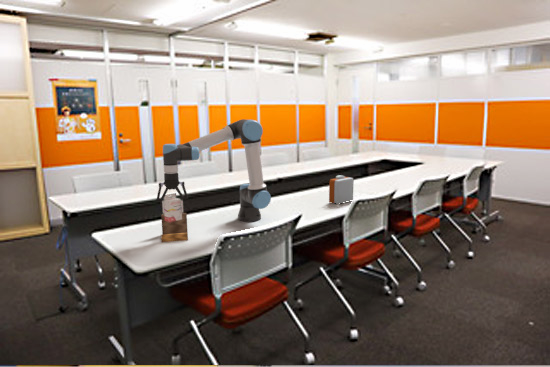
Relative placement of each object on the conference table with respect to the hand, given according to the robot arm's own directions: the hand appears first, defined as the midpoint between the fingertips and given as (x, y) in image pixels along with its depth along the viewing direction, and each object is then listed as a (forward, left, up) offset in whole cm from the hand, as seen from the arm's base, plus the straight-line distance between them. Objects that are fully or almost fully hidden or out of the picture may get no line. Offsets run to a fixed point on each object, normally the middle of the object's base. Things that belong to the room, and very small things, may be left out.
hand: (173, 212), depth 217 cm
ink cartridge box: (0, 0, -5) cm, 5 cm away
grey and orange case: (-122, -53, -15) cm, 134 cm away
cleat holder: (0, 0, -15) cm, 15 cm away
